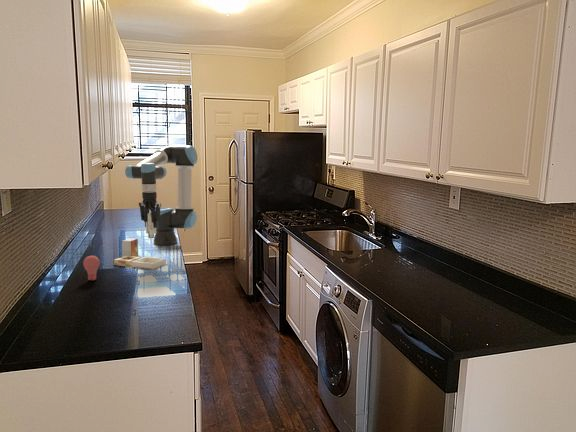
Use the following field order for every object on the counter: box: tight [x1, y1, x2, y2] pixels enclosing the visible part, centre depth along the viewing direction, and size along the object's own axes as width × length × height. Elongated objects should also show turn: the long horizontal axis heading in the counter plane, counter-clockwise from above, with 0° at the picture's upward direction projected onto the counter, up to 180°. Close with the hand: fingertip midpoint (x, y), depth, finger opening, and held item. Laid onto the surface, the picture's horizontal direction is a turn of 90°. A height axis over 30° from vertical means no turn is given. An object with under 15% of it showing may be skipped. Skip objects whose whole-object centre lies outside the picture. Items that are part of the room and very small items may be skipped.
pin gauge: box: [147, 212, 155, 239], centre depth 243 cm, size 3×3×14 cm
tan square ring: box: [113, 255, 142, 268], centre depth 239 cm, size 10×10×3 cm
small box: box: [121, 237, 139, 257], centre depth 252 cm, size 8×6×10 cm
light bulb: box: [82, 255, 100, 281], centre depth 208 cm, size 7×7×12 cm
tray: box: [131, 256, 167, 271], centre depth 236 cm, size 12×13×3 cm
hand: (151, 233), depth 244 cm, fingers closed on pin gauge, 3 cm apart
